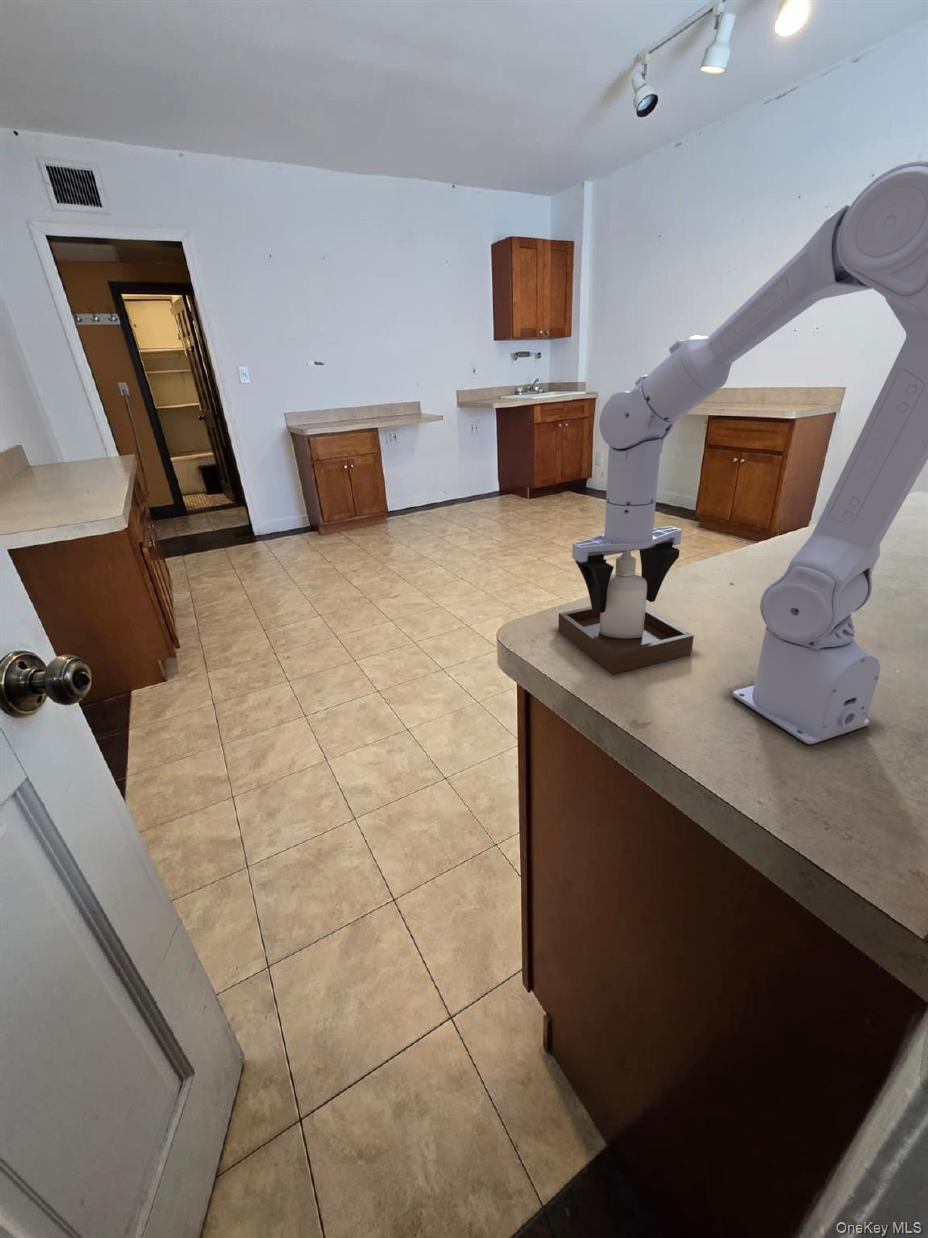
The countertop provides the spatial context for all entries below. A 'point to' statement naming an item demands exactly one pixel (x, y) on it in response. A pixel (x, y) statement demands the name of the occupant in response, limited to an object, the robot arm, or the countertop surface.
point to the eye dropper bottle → (624, 601)
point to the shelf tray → (625, 640)
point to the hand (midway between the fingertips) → (623, 604)
